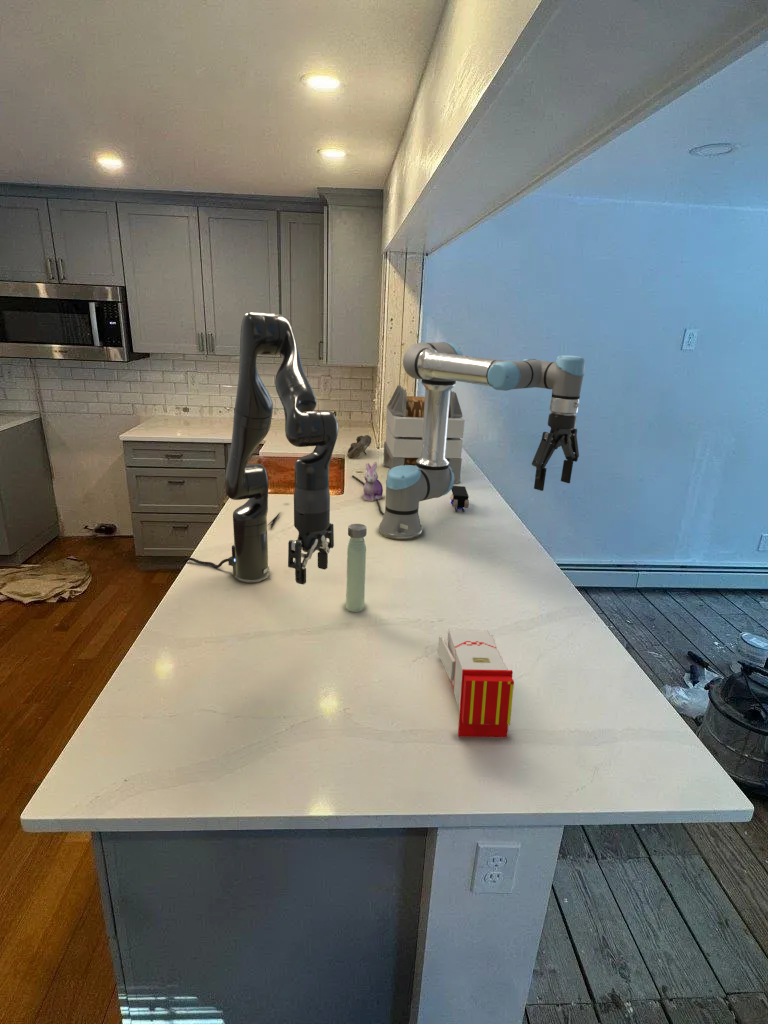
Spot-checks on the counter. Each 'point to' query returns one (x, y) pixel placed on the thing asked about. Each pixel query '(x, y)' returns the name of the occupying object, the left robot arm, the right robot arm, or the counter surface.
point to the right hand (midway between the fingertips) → (552, 485)
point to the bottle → (355, 574)
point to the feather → (273, 520)
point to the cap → (357, 530)
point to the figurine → (372, 484)
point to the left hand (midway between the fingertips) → (312, 575)
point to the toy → (478, 682)
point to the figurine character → (459, 498)
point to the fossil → (359, 446)
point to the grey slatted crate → (419, 431)
